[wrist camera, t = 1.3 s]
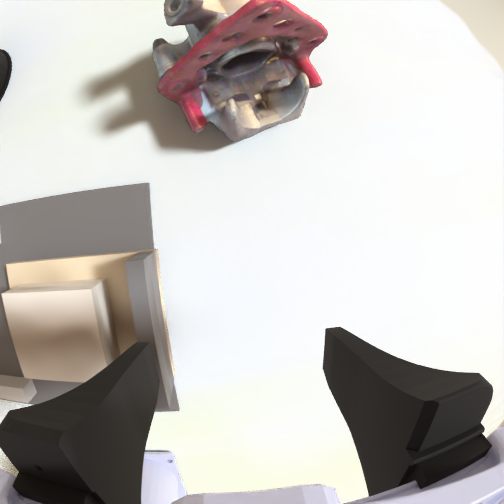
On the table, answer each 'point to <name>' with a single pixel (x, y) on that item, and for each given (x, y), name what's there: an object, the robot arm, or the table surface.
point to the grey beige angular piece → (87, 315)
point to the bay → (66, 245)
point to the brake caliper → (238, 63)
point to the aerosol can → (4, 71)
